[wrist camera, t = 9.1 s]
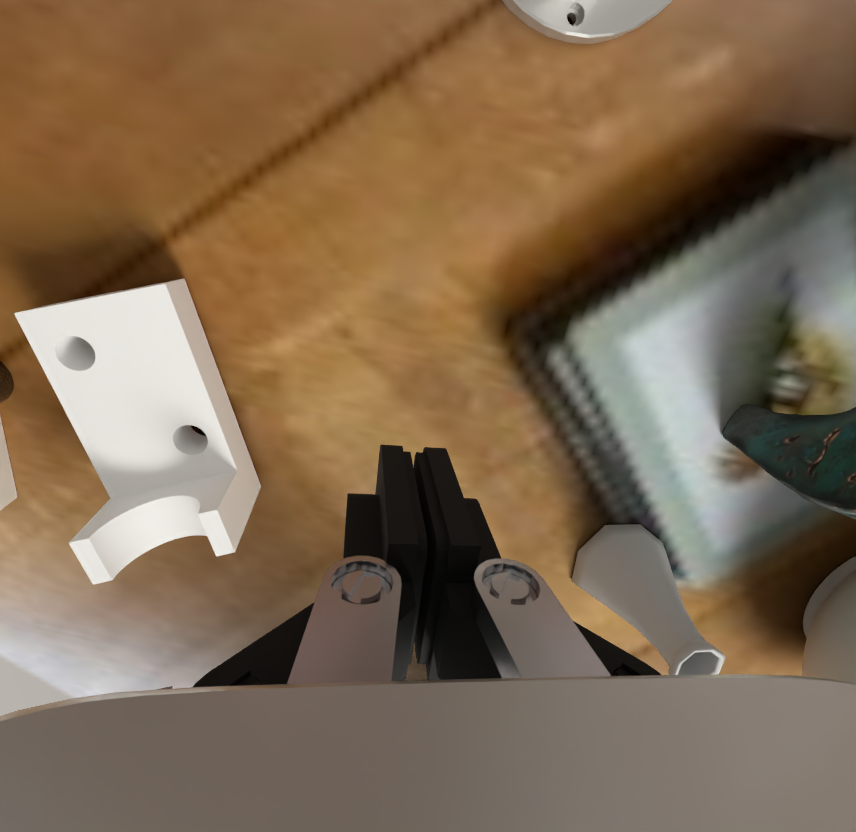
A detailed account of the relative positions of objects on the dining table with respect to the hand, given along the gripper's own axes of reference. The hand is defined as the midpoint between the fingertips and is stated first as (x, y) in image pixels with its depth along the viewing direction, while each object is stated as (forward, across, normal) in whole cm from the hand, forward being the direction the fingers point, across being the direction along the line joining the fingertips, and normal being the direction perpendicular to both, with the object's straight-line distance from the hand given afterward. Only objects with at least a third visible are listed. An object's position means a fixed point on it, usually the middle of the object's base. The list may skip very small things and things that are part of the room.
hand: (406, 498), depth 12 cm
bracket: (+18, +12, +5) cm, 22 cm away
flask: (+18, -20, +16) cm, 31 cm away
